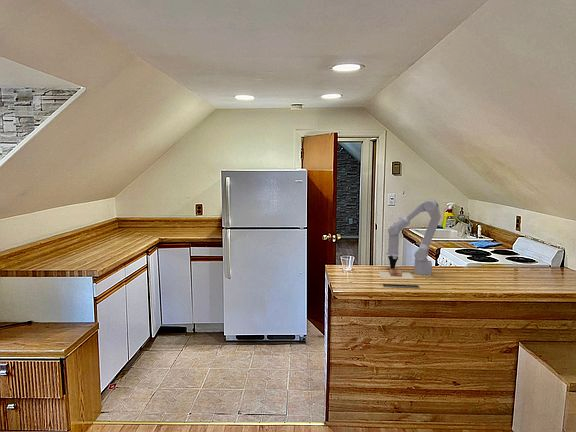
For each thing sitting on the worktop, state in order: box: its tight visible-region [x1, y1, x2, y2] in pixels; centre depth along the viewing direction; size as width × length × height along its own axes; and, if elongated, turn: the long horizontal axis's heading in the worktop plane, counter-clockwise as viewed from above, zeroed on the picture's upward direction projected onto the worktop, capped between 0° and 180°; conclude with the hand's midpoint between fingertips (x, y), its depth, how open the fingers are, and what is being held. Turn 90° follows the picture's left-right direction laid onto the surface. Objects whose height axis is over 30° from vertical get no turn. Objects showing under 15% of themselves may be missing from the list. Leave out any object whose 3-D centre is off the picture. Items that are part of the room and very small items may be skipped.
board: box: [377, 271, 415, 280], centre depth 236 cm, size 18×13×1 cm
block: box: [388, 268, 403, 277], centre depth 236 cm, size 6×8×2 cm
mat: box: [382, 283, 420, 289], centre depth 222 cm, size 18×14×1 cm
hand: (392, 268), depth 248 cm, fingers closed
